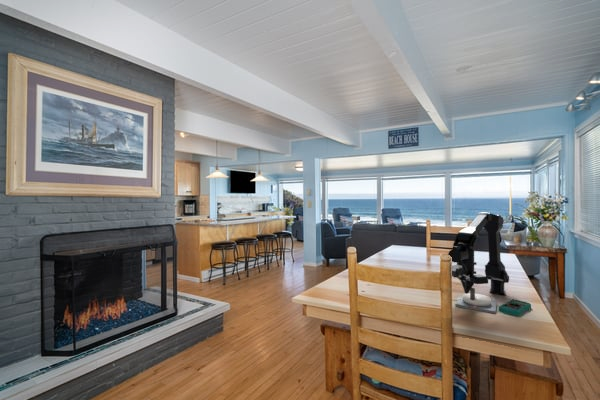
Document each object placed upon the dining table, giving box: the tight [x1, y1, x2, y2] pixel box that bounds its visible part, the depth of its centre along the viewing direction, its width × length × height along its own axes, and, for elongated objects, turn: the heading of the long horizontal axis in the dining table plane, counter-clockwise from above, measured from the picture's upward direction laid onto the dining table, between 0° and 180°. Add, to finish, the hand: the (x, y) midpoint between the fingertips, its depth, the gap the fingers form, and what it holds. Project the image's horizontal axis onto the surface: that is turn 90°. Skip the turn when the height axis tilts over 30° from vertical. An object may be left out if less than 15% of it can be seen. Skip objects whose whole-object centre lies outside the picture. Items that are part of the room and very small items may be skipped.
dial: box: [462, 287, 492, 306], centre depth 132 cm, size 11×11×7 cm
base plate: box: [454, 293, 498, 315], centre depth 132 cm, size 16×15×1 cm
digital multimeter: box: [498, 298, 532, 317], centre depth 126 cm, size 7×15×3 cm, turn 124°
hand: (466, 293), depth 132 cm, fingers closed
